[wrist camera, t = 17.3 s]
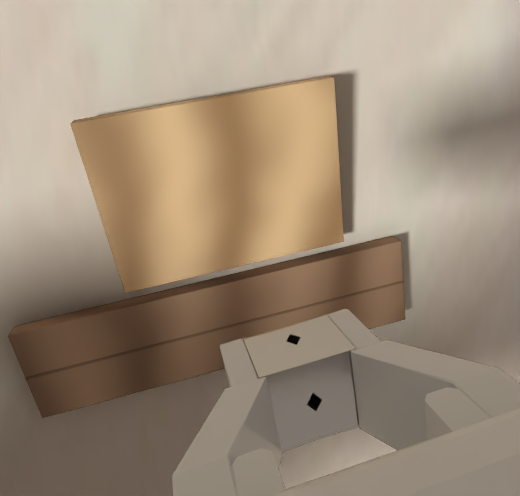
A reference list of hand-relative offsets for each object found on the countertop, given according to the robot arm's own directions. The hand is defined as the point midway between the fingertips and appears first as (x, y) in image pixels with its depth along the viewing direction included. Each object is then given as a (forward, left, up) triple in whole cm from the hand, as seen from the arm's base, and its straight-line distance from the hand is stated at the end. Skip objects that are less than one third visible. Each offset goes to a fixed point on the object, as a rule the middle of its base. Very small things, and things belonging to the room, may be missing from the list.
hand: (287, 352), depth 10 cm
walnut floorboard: (0, -8, -18) cm, 20 cm away
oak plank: (+1, +1, -17) cm, 17 cm away
